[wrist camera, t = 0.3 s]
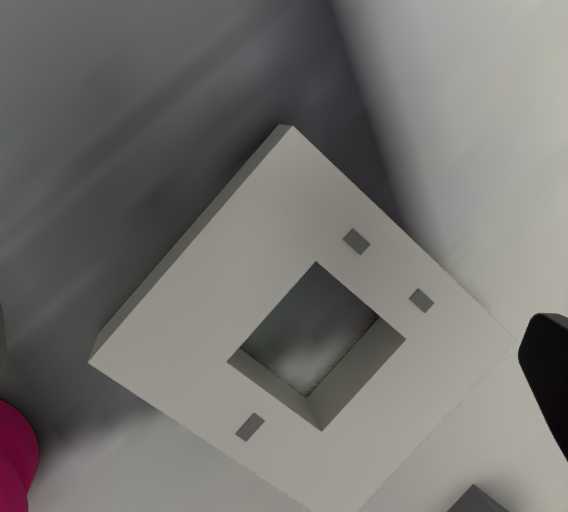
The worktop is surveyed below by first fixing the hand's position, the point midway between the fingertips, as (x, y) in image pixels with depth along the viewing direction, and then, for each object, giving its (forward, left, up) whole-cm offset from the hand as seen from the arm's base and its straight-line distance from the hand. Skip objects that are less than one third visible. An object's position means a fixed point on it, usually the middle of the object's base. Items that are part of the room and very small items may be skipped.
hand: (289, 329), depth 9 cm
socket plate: (-2, -7, -15) cm, 17 cm away
